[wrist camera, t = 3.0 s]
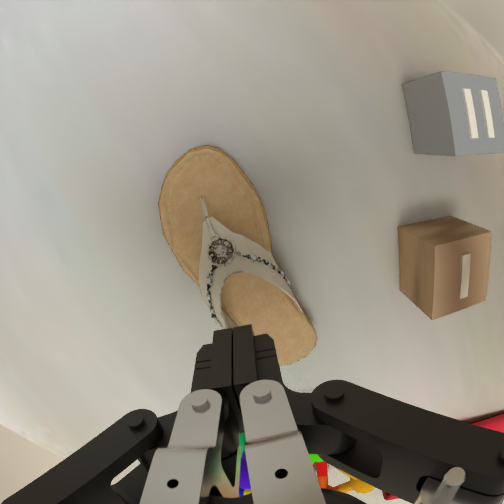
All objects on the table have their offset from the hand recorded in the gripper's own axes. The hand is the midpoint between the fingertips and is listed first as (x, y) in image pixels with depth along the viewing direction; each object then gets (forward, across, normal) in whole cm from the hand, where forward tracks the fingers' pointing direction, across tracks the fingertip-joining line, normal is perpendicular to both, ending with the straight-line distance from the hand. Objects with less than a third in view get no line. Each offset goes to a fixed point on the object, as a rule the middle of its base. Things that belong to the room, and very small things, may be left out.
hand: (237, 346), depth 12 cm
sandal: (+10, -1, 0) cm, 10 cm away
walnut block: (+9, -14, +2) cm, 17 cm away
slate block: (+9, -16, -8) cm, 20 cm away
